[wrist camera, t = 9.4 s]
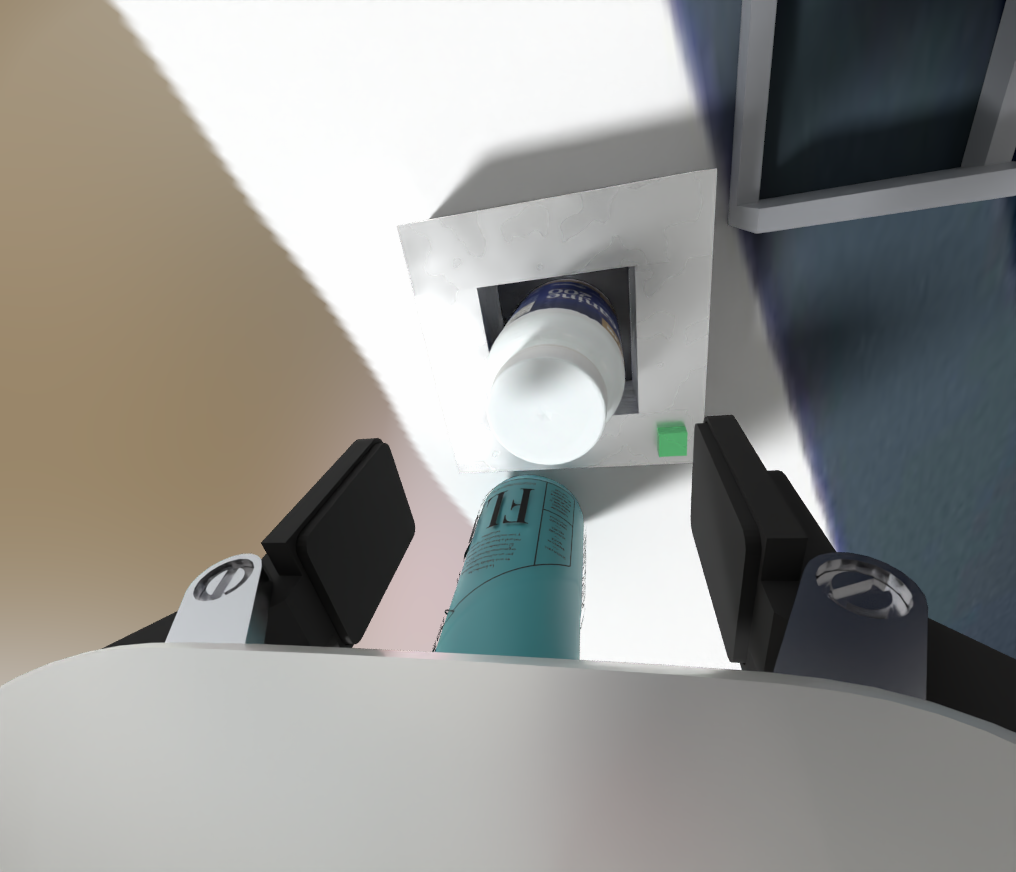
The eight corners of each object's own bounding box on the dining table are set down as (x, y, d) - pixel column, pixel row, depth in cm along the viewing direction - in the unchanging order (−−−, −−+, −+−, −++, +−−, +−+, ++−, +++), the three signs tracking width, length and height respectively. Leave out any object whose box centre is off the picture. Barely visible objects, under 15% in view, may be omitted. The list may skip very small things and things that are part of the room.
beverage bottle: (543, 439, 26) (451, 922, 9) (608, 513, 28) (634, 1031, 11) (465, 489, 29) (281, 930, 12) (529, 553, 31) (450, 1015, 14)
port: (428, 219, 21) (390, 227, 17) (694, 171, 19) (721, 167, 15) (476, 436, 27) (456, 479, 23) (686, 423, 24) (704, 469, 20)
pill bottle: (642, 321, 22) (668, 406, 14) (572, 397, 25) (558, 507, 16) (556, 252, 21) (528, 296, 13) (494, 338, 24) (436, 422, 15)
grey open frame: (745, -45, 15) (789, -112, 12) (1073, -136, 13) (1239, -247, 10) (727, 225, 19) (756, 233, 16) (978, 186, 17) (1073, 186, 14)
